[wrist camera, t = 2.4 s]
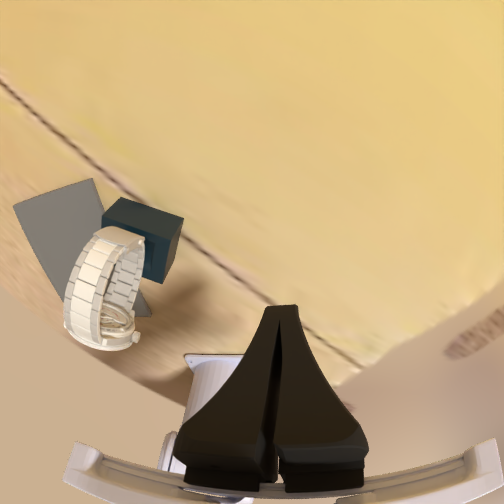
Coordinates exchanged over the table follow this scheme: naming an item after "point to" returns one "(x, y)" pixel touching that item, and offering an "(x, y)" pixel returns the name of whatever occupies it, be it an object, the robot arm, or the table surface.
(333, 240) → the table surface
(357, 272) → the table surface
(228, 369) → the robot arm
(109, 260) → the watch
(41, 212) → the mat
